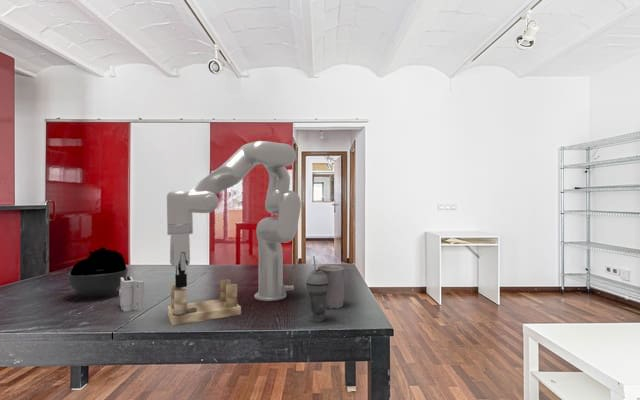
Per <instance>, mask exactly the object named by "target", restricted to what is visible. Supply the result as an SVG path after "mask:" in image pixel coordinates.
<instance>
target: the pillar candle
mask: <svg viewBox="0 0 640 400" xmlns="http://www.w3.org/2000/svg"><path fill="white" fill-rule="evenodd" d="M344 269H345V267H343V266H340V265H332V264H331V263H330V264H326V265H320V266H318V267H317V270H321V271H323V272H324V273H325V274H326V275H327V278H328V282H329V284H328V289H327V296H326V308H329V309H328V310H334V309H333V308H337V309H340V307H341V308H343V307H342V306H344V294H345V293H344V290H345V289H344V288H345V286H344V282H345V281H344V274H345V270H344Z"/></svg>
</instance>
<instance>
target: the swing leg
mask: <svg viewBox="0 0 640 400" xmlns="http://www.w3.org/2000/svg"><path fill="white" fill-rule="evenodd" d="M187 291H188V289H187V288H183V289H177V290H174V314H175V315H182V314H185V313H190V312H195V311H197V308H191V309H187V300H188V297H187V296H188V295H187V294H188V293H187Z"/></svg>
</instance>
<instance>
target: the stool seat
mask: <svg viewBox="0 0 640 400" xmlns="http://www.w3.org/2000/svg"><path fill="white" fill-rule="evenodd" d="M231 281H232V280H231V279H228V278H226V279H220V281H219V299H217V298H216V299H210V300H205V301H195V302H189V303H187V309H191V308H197V311H195V312H190V313H185V314H182V315H175V314H174V290H177V289H184V287H180V288H176V285H175V284H173V285H171V286H170V305H168V306H167V317H168V319H169V321H170V323H171V326H179V325H184V324H185V325H186V324H190V323H198V322H202V321H209V320H214V319H221V318H228V317H233V316H240V315H242V306H241V305H240V304H238V284H237V283H231Z"/></svg>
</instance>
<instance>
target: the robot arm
mask: <svg viewBox="0 0 640 400" xmlns="http://www.w3.org/2000/svg"><path fill="white" fill-rule="evenodd" d="M296 159H297V151H296V150H295V148H294V147H293V146H292V145H290V144H288V143H281V142H274V141H266V140H265V141H264V140H257V141H256V140H255V141H252V142H248V143H246V144H243V145H241V146H240V147H239V148H238V149H237V150H236V151H235V152H234V153H233V154H232V155H231V156H230V157H229V158H228V159H227V160H226V161H225V162H224V163H222V165H220V166H219V167H217V168H216V169H215V170H213V171H212V172H211V173H210V174H208V175H206V176H205V177H204V178H202V179H201V180H200V181H199V182H197V183H196V185H194V186H193V187H192V188H191V189H190V190H189V191H187V190H186V191H184V190H183V191H180V190H179V191H178V190H177V191H173V190H172V191H169V192H168V193H167V194H166V221H167V222H166V223H167V225H166V226H167V228H166V230H167V236H170V239H169V240H170V244H169V245H170V249H169V264H170V265H171V266H172V268H173V267H174V268H175V275H174V276H175V279H174V280H175V281H174V283H175V284H174V285H176V288H180V287H183V288H186V287H187V285H188V277H187V276H188V273H187V266H189V265H190V262H191V250H190V247H191V246H190V245H191V244H190V241H191V239H190V235H192V234H194V232H193V231H194V229H193V228H194V227H193V224H194V223H193V213H194V214H196V213H197V214H209V213H212V212H214V211H215V210H216V209H217V208H218V206H219V198H218V196H217V195H218V194H219V193H220V192H221V193H222V191H225V190H227V189H229V188H232V187H234V186H236V185H238V184H239V183H240V182H241V181H242V180H243V179H244V178H245V177H246V175H247V174H249V172H251V170H253V168H254V167H255V166H257V165H263V167H264V168H265V170H266V171H267V173H268V178H269V180H268V187H267V193H266V197H265V203H264V208H265V211H266V212H267V213H269V214H271V215H277V216H278V217H277V216H276V217H274V216H272V217H271V216H270V217H269V216H267V217H264V218H262V219H261V220H260V221H259V222H258V223H257V225H256V228H255V229H256V232H255V233H256V239H257V243H258V244H257V246H258V290H257V292H256V293H255V294H254V299H255V300H257V301H263V302H275V301H280V300H284V299H285V298H287V292H288V291H289V292H290V291H294V290H295V286H294V285H293V284H292V285H287V284H286V285H285V284H283V277H284V274H283V271H284V265H283V263H284V262H283V261H284V260H283V259H284V258H283V257H284V253H283V252H284V251H283V247H282V244H281V243H283V244H286V243H287V244H288V243H289V242H292V240H293V239H294V238H295V236H296V234H297V230H298V226H299V219H300V215H301V209H302V202H301V198H300V196H299V194H298V193H297V192H296V191H293V190H290V185H291V176H290V174H289V172H288V170H287V168H286V167H289V166H290V167H291V166H292V165H293V164H294V162H295V161H296Z"/></svg>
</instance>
